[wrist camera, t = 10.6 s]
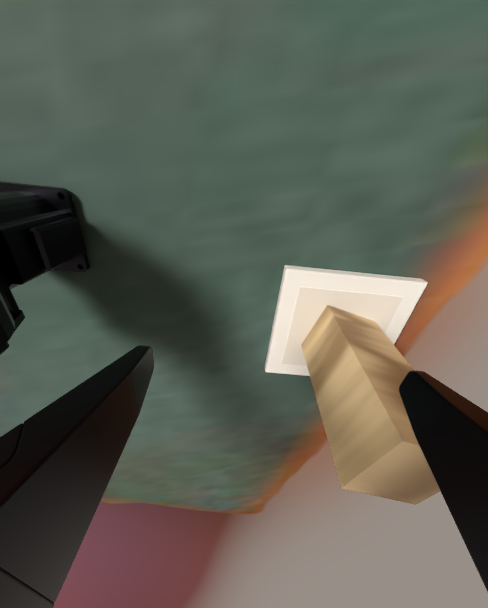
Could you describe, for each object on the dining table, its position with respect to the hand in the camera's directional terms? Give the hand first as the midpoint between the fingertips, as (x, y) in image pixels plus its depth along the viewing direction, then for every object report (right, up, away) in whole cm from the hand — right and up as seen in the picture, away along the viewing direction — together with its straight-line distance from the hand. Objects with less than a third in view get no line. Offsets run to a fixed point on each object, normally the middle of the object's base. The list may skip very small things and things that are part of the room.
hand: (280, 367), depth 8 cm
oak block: (+8, -1, +14) cm, 16 cm away
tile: (+8, 0, +15) cm, 17 cm away
